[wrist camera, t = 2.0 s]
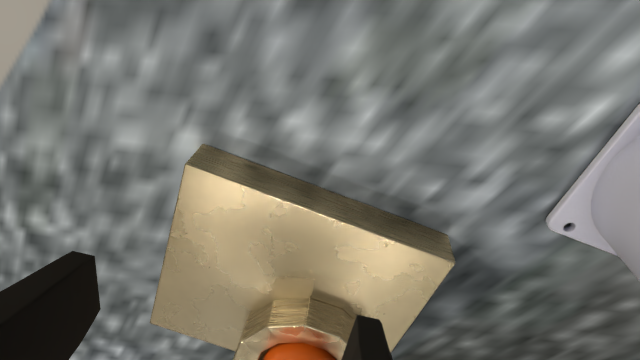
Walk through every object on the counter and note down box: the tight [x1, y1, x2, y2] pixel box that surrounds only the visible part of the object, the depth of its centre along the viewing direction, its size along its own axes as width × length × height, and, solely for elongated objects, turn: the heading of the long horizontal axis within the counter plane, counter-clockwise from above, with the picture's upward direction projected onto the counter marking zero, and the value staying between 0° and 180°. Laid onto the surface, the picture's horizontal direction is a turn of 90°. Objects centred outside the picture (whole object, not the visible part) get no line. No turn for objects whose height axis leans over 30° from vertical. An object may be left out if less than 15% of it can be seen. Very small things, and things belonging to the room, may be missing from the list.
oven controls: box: [150, 144, 455, 360], centre depth 21 cm, size 13×12×4 cm
